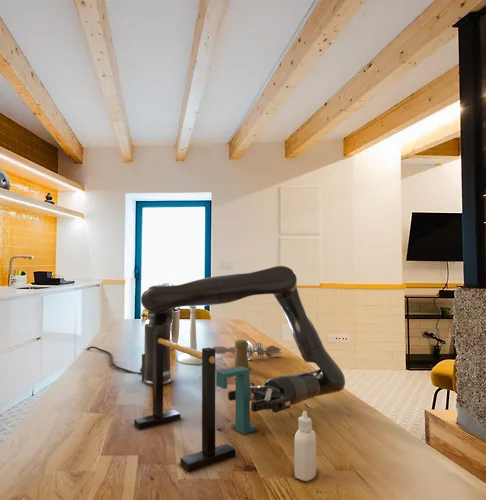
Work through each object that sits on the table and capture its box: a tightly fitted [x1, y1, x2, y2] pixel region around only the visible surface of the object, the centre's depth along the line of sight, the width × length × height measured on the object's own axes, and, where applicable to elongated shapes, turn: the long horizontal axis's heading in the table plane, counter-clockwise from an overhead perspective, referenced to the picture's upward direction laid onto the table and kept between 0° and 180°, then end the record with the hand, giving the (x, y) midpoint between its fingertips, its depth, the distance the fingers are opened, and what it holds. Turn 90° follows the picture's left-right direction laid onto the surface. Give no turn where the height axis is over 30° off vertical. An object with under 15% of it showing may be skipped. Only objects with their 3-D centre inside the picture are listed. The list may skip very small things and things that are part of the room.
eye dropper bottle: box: [293, 410, 317, 482], centre depth 73 cm, size 4×6×12 cm
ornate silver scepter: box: [212, 340, 282, 361], centre depth 160 cm, size 8×35×8 cm
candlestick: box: [177, 306, 202, 365], centre depth 160 cm, size 13×13×30 cm
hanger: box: [215, 366, 257, 435], centre depth 92 cm, size 10×4×15 cm, turn 121°
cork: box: [233, 339, 250, 369], centre depth 147 cm, size 6×6×11 cm
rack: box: [133, 331, 237, 473], centre depth 88 cm, size 12×25×23 cm, turn 31°
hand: (240, 401), depth 92 cm, fingers open, 8 cm apart
